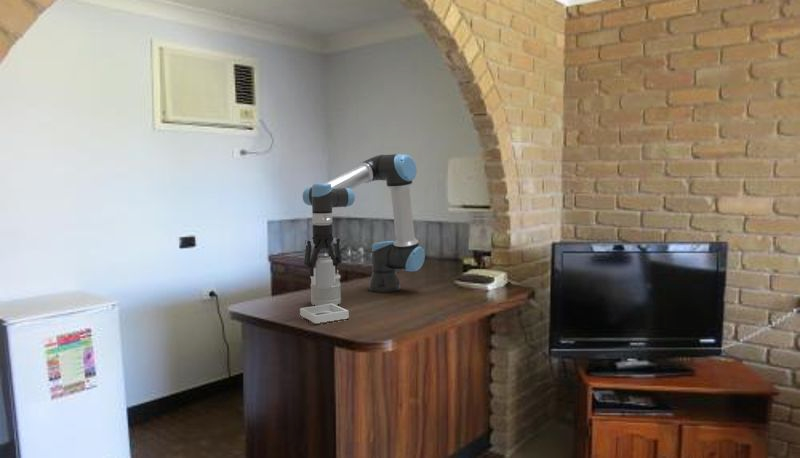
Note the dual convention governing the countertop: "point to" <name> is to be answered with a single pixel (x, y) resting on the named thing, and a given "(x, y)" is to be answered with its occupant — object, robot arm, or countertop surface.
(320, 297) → the jar
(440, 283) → the countertop surface
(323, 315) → the tray
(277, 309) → the countertop surface
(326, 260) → the can
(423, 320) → the countertop surface
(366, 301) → the countertop surface
